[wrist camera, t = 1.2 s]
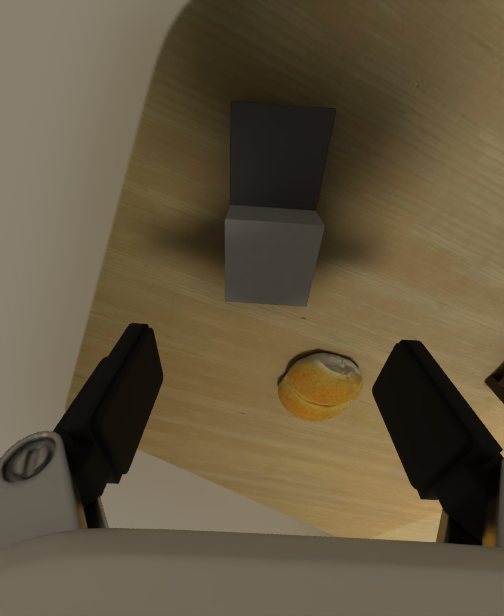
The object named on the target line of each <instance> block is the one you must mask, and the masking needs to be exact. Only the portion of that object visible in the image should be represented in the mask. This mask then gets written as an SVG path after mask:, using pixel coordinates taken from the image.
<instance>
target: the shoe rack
mask: <svg viewBox="0 0 504 616" xmlns="http://www.w3.org/2000/svg"><path fill="white" fill-rule="evenodd" d="M485 383H486V384H487V385H488V386H489V387H490V389H491V390H492V391H493V392H494V393H495V394H496V396H497V397H498V398H499V399H500V400H501V401H502V402H503V404H504V377H502V376H498V375H491V376H490V377H489V378H488V379H487V380H486V381H485Z"/></svg>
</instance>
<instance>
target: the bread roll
mask: <svg viewBox="0 0 504 616" xmlns="http://www.w3.org/2000/svg"><path fill="white" fill-rule="evenodd" d="M361 375H362V374H361V371H360V370H359V369H358V368H357V367H356V366H355V364H354V363H353V362H352V361H350V360H347V359H344V358H342V357H340V356H337V355H333V354H326V353H317V354H312V355H310V356H308V357H305V358H303V359H300V360H299V361H297V362H296V363H295V364H294V365H293V366H292V367H291V368H290V369H289V371H288V373H287V374H286V376H285V377H284V378H283V379H282V381H281V382H280V384H279V386H278V395H279V398H280V400H281V402H282V404H283V405H284V407H285V408H286V409H287V410H288V411H289V412H290V413H292V414H293V415H295V416H296V417H298V418H300V419H303V420H307V421H322V420H326V419H329V418H331V417H333V416H335V415H338V414H340V413H342V412H343V411H344V410H345V409H346V408H347V406H348V405H349V403H350V402H351V400H353V399H354V398H356V397H357V396H358V395H359V394H360V392H361V389H362V384H363V378H362V376H361Z"/></svg>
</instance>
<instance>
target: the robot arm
mask: <svg viewBox="0 0 504 616" xmlns="http://www.w3.org/2000/svg"><path fill="white" fill-rule="evenodd" d="M162 381H163V372H162V367H161V363H160V358H159V354H158V349H157V345H156V340H155V335H154V331H153V329H152V328H149V326H148V325H147V324H138V323H131V324H129V326H128V327H127V329H126V330H125V332H124V333H123V335H122V336H121V338H120V339H119V341H118V342H117V344H116V345H115V347H114V348H113V350H112V351H111V353H110V354H109V356H108V357H105V358H103V359H102V360H101V361H100V363H99V364H98V366H97V367H96V369H95V370H94V372H93V373H92V374H91V376H90V377H89V379H88V380H87V382H86V383H85V385H84V386H83V388H82V389H81V391H80V392H79V394H78V395H77V397H76V398H75V399H74V401H73V402H72V404H71V405H70V407H69V408H68V410H67V411H66V413H65V414H64V416H63V417H62V419H61V420H60V422H59V423H58V424H57V426H56V427H55V429H54V430H53V432H52V431H42V432H37V433H34V434H31V435H29V436H27V437H25V438H23V439H22V440H20V441H18V442H17V443H15V444H14V445H13V446H12V447H11V448H9V449H8V450H7V451H6V452H5V454H4V455H3V456H2V457H1V458H0V616H504V458H503V456H502V455H501V454H500V452H501V451H502V450H503V449H502V448H501V446H500V445H499V444H498V443H497V441H496V440H495V439H494V437H493V436H492V435H491V433H490V432H489V431H488V429H487V428H486V427H485V425H484V424H483V423H482V421H481V420H480V419H479V417H478V416H477V415H476V413H475V412H474V411H473V410H472V408H471V407H470V406H469V404H468V403H467V402H466V400H465V399H464V398H463V396H462V395H461V394H460V392H459V391H458V390H457V388H456V387H455V386H454V384H453V383H452V382H451V380H450V379H449V378H448V377H447V375H446V374H445V373H444V371H443V370H442V369H441V367H440V366H439V365H438V363H437V362H436V361H435V359H434V358H433V357H432V355H431V354H430V353H429V351H428V350H427V349H426V347H425V346H424V345H423V344H422V343H421V342H420V341H416V340H401V341H400V342H399V343H397V344H396V345H395V346H394V348H393V350H392V352H391V354H390V355H389V357H388V359H387V361H386V363H385V365H384V367H383V368H382V370H381V372H380V374H379V376H378V378H377V380H376V382H375V383H374V385H373V388H372V393H373V396H374V399H375V401H376V403H377V406H378V408H379V411H380V413H381V415H382V418H383V420H384V422H385V425H386V427H387V429H388V432H389V434H390V436H391V439H392V441H393V443H394V446H395V448H396V450H397V453H398V455H399V458H400V460H401V462H402V465H403V467H404V469H405V472H406V474H407V476H408V479H409V481H410V483H411V485H412V486H413V487H414V488H415V489H417V491H418V493H419V496H420V498H421V499H427V500H438V499H439V502H440V504H441V506H442V508H443V509H442V514H441V519H440V524H439V529H438V534H437V539H436V542H417V541H399V540H380V539H361V538H341V537H321V536H319V537H318V536H299V535H279V534H259V533H236V532H213V531H190V530H167V529H128V528H127V529H125V528H109V527H108V524H107V520H106V517H105V512H104V509H103V505H102V502H101V498H100V496H101V495H102V493H103V491H104V488H105V487H106V484H107V483H116V484H118V483H119V481H120V479H121V476H122V474H126V473H127V472H128V470H129V468H130V466H131V463H132V461H133V458H134V455H135V453H136V450H137V448H138V445H139V442H140V440H141V437H142V434H143V432H144V429H145V427H146V424H147V421H148V419H149V416H150V414H151V411H152V408H153V406H154V403H155V400H156V398H157V395H158V393H159V390H160V387H161V385H162Z"/></svg>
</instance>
